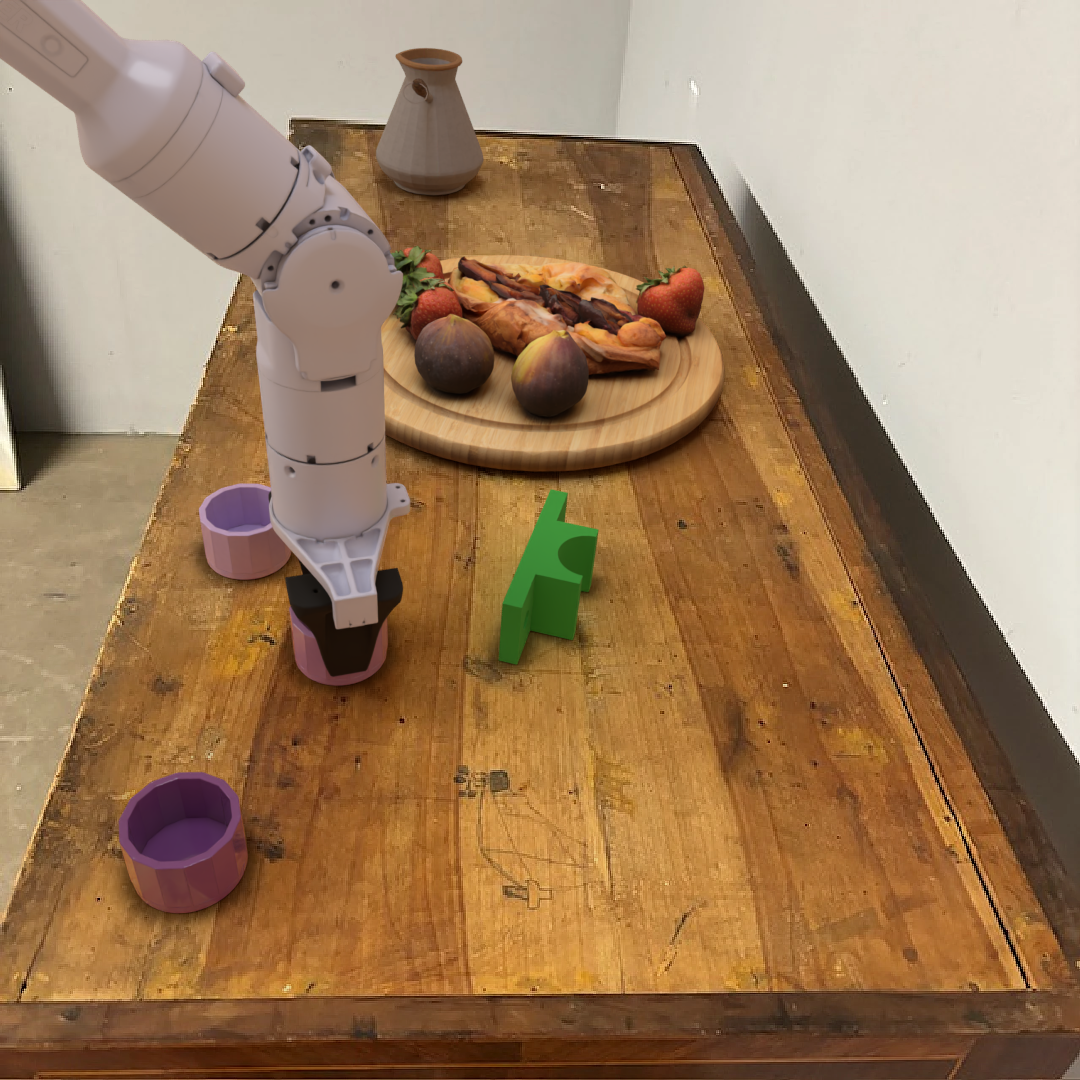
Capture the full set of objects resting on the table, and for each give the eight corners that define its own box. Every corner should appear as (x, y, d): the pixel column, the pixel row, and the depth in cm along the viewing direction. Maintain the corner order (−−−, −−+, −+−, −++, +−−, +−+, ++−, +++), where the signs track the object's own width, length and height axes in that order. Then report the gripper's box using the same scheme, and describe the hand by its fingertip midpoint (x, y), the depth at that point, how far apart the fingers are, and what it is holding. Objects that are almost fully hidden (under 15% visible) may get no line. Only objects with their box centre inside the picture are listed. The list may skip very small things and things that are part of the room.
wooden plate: (683, 282, 102) (697, 197, 97) (761, 483, 78) (786, 383, 72) (341, 271, 99) (336, 183, 94) (309, 477, 74) (300, 372, 69)
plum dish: (133, 926, 48) (119, 881, 46) (130, 829, 52) (117, 783, 50) (253, 899, 49) (245, 854, 47) (241, 806, 53) (234, 761, 51)
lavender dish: (209, 586, 65) (202, 541, 63) (203, 532, 69) (196, 488, 67) (297, 573, 67) (292, 529, 64) (285, 521, 70) (281, 478, 68)
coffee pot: (383, 158, 121) (380, 14, 112) (485, 166, 122) (491, 23, 112) (355, 237, 105) (349, 76, 95) (474, 246, 105) (479, 86, 96)
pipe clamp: (561, 676, 62) (567, 618, 59) (498, 662, 62) (501, 603, 59) (601, 555, 70) (608, 499, 67) (545, 543, 71) (550, 487, 68)
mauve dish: (301, 694, 59) (297, 648, 57) (288, 628, 63) (284, 583, 61) (395, 677, 61) (394, 632, 58) (377, 614, 64) (375, 569, 62)
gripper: (441, 510, 48) (438, 714, 57) (378, 349, 58) (384, 542, 67) (280, 532, 46) (302, 740, 55) (245, 361, 56) (268, 558, 65)
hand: (339, 632), depth 61 cm, fingers closed on mauve dish, 5 cm apart
